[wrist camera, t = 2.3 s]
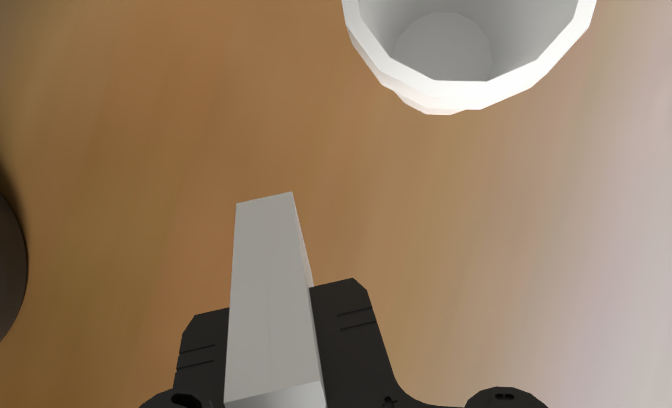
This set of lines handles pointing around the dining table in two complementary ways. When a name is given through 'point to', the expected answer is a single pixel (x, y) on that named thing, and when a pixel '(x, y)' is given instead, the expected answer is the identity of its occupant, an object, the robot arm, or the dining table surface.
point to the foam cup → (463, 46)
